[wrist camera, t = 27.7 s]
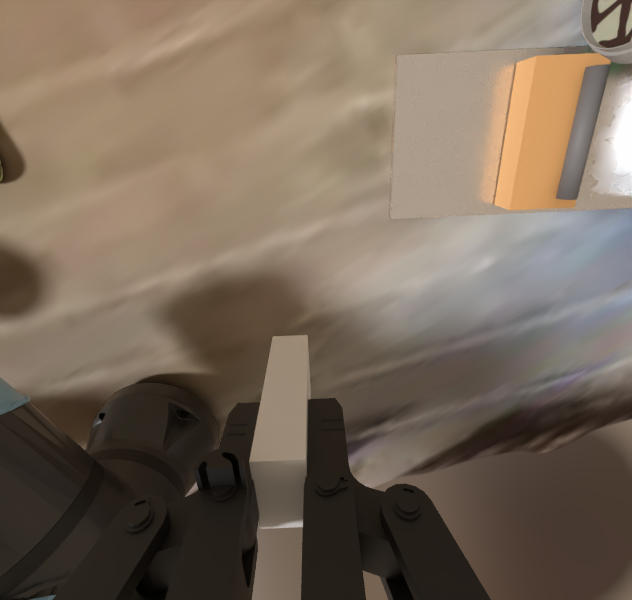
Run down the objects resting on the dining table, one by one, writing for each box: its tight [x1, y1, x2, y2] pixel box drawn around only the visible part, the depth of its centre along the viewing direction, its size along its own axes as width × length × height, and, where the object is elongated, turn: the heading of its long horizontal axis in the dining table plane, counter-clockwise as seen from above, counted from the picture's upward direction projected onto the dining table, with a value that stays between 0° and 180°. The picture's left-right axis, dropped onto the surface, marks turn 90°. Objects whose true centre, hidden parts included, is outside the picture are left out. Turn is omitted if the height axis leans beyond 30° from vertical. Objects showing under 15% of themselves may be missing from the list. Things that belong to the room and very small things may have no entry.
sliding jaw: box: [494, 53, 611, 210], centre depth 32 cm, size 12×6×5 cm, turn 2°
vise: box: [389, 46, 632, 219], centre depth 32 cm, size 14×28×6 cm, turn 92°
